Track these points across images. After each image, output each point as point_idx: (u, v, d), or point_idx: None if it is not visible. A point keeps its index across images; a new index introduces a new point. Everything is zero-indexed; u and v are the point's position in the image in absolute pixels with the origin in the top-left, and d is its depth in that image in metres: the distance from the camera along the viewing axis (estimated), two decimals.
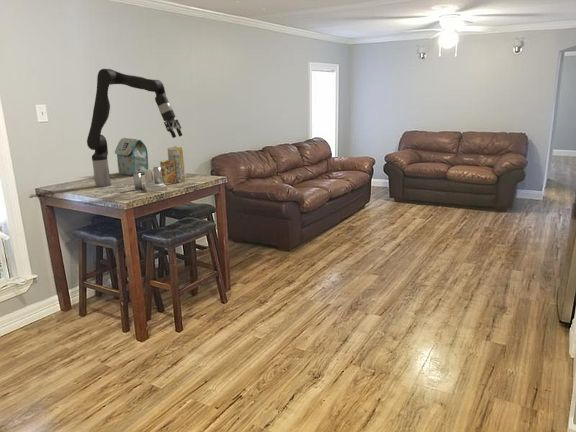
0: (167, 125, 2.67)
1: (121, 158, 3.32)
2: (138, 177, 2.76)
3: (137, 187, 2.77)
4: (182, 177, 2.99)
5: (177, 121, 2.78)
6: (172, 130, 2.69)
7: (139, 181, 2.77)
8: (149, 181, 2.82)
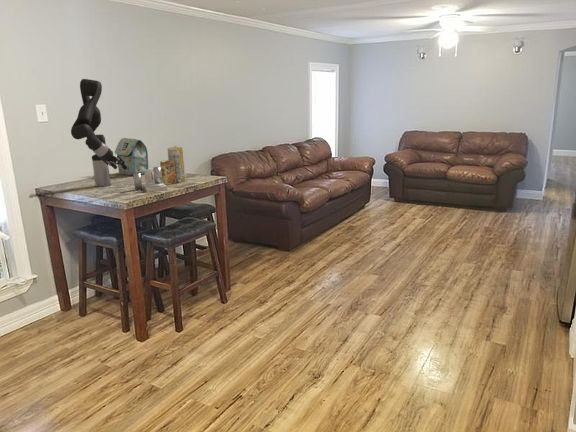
0: None
1: (121, 158, 3.32)
2: (138, 177, 2.76)
3: (137, 187, 2.77)
4: (182, 177, 2.99)
5: (116, 160, 2.56)
6: None
7: (139, 181, 2.77)
8: (149, 181, 2.82)
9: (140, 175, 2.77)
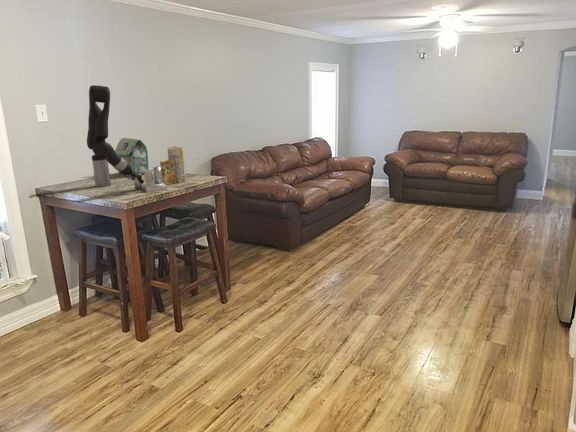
0: None
1: None
2: None
3: (137, 187, 2.77)
4: (182, 177, 2.99)
5: (135, 176, 2.70)
6: (131, 179, 2.78)
7: None
8: (149, 181, 2.82)
9: None
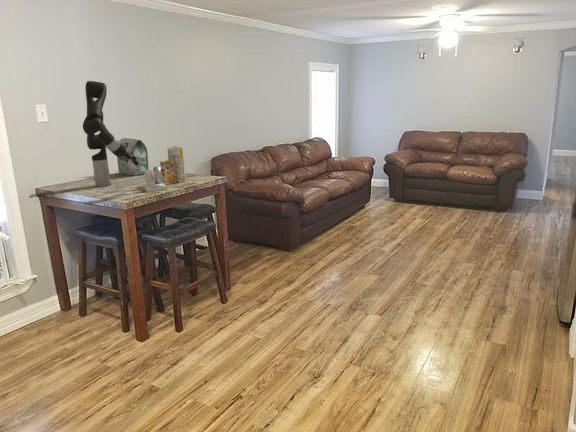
0: None
1: None
2: None
3: (131, 169, 2.60)
4: (182, 177, 2.99)
5: (129, 156, 2.53)
6: None
7: (133, 163, 2.60)
8: (149, 181, 2.82)
9: None
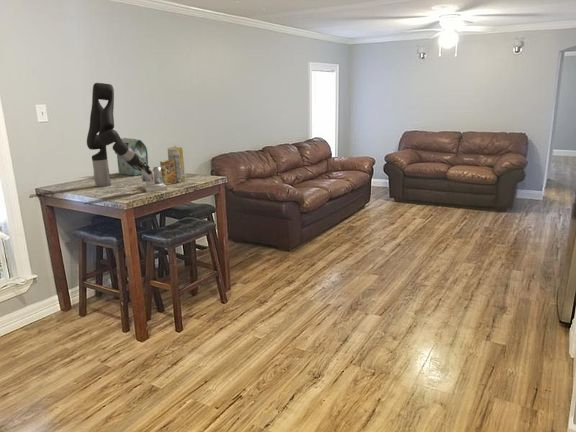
0: None
1: (121, 158, 3.32)
2: None
3: (144, 178, 2.69)
4: (182, 177, 2.99)
5: (143, 166, 2.62)
6: (139, 170, 2.70)
7: (146, 172, 2.68)
8: (149, 181, 2.82)
9: None
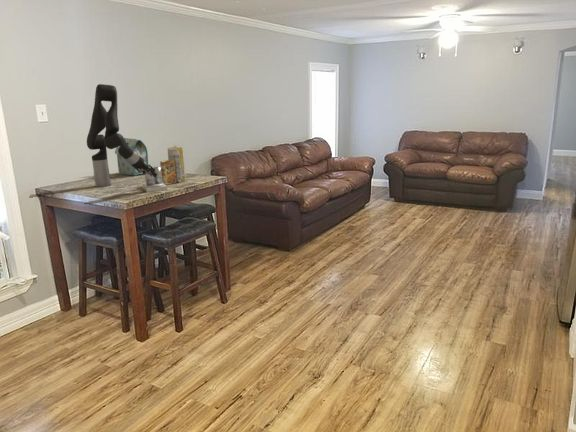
0: None
1: (121, 158, 3.32)
2: None
3: (149, 182, 2.72)
4: (182, 177, 2.99)
5: (147, 168, 2.64)
6: (141, 172, 2.74)
7: (151, 176, 2.72)
8: None
9: None
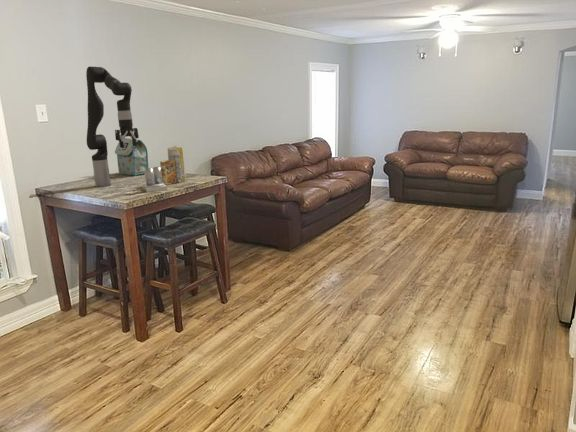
0: (117, 135, 2.55)
1: (121, 158, 3.32)
2: (150, 172, 2.71)
3: (149, 182, 2.72)
4: (182, 177, 2.99)
5: (136, 130, 2.64)
6: (121, 140, 2.57)
7: (151, 176, 2.72)
8: None
9: (152, 170, 2.72)
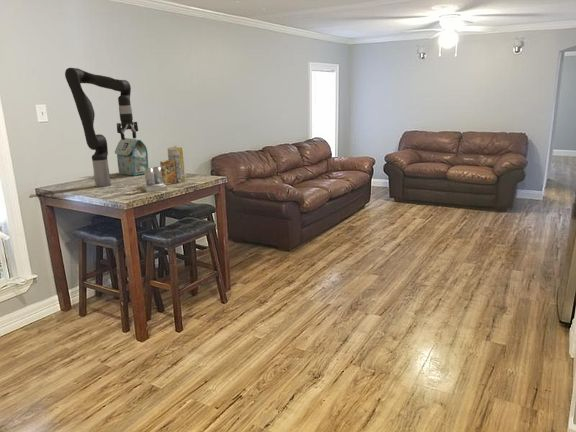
0: (118, 128, 2.77)
1: (121, 158, 3.32)
2: (150, 172, 2.71)
3: (149, 182, 2.72)
4: (182, 177, 2.99)
5: (135, 124, 2.87)
6: (122, 133, 2.79)
7: (151, 176, 2.72)
8: None
9: (152, 170, 2.72)
